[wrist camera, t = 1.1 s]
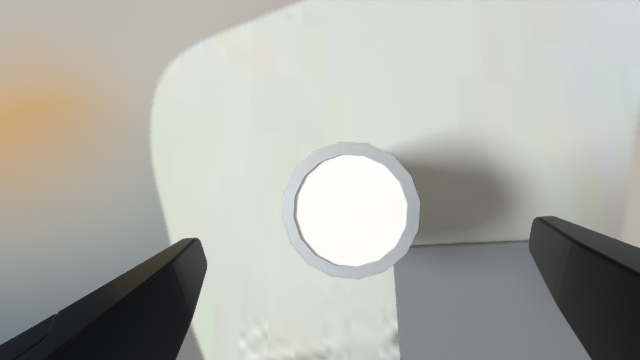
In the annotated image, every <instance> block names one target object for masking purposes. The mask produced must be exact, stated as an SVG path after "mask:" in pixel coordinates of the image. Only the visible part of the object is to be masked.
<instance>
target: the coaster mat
mask: <svg viewBox="0 0 640 360" xmlns="http://www.w3.org/2000/svg"><path fill="white" fill-rule="evenodd" d="M394 276H395V290H396V304H397V318H398V333H399V347H400V360H591V358H590V357H589V355H588V353H587V352H586V350H585V349H584V347H583V346H582V344H581V343H580V341H579V339H578V338H577V336H576V335H575V333H574V332H573V330H572V329H571V327H570V325H569V324H568V322H567V321H566V319H565V318H564V316H563V315H562V313H561V311H560V310H559V308H558V306H557V305H556V303H555V301H554V299H553V297H552V296H551V294H550V292H549V290H548V288H547V286H546V284H545V282H544V280H543V278H542V276H541V274H540V272H539V270H538V268H537V266H536V264H535V262H534V260H533V258H532V256H531V253H530V251H529V240H528V241H507V242H485V243H464V244H442V245H421V246H410V247H409V249H408V251H407V253H406V254H405V255H404V256H403V257H402V258H400V259H399V260H398V261H397V262H396V263H394Z"/></svg>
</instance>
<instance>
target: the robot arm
mask: <svg viewBox="0 0 640 360" xmlns="http://www.w3.org/2000/svg"><path fill="white" fill-rule="evenodd" d="M529 251H530V253H531V256H532V258H533V260H534V262H535V264H536V266H537V268H538V270H539V272H540V274H541V276H542V278H543V280H544V282H545V284H546V286H547V288H548V290H549V292H550V294H551V296H552V297H553V299H554V301H555V303H556V305H557V306H558V308H559V310H560V311H561V313H562V315H563V316H564V318H565V319H566V321H567V322H568V324H569V325H570V327H571V329H572V330H573V332H574V333H575V335H576V336H577V338H578V339H579V341H580V343H581V344H582V346H583V347H584V349H585V350H586V352H587V353H588V355H589V357H590V358H591V360H640V248H638V247H635V246H632V245H630V244H627V243H624V242H622V241H619V240H616V239H614V238H611V237H608V236H606V235H603V234H600V233H598V232H595V231H592V230H589V229H587V228H584V227H581V226H579V225H576V224H573V223H571V222H568V221H565V220H563V219H560V218H557V217H554V216H543V217H536V218H535V219H534V220H533V223H532V228H531V233H530V239H529ZM206 270H207V260H206V257H205V254H204V251H203V247H202V244H201V242H200V240H199V239H198V238H185V239H182V240H180V241H179V242H177V243H175V244H173V245H172V246H170V247H168V248H167V249H165V250H163V251H162V252H160V253H158V254H156V255H155V256H153V257H151V258H150V259H148V260H146V261H145V262H143V263H141V264H139V265H138V266H136V267H134V268H133V269H131V270H129V271H127V272H126V273H124V274H122V275H120V276H119V277H117V278H115V279H114V280H112V281H110V282H109V283H107V284H105V285H103V286H102V287H100V288H98V289H97V290H95V291H93V292H91V293H90V294H88V295H86V296H85V297H83V298H81V299H80V300H78V301H76V302H74V303H73V304H71V305H69V306H68V307H66V308H64V309H63V310H61V311H59V312H58V314H54V315H52V316H50V317H49V318H47V319H45V320H44V321H42V322H40V323H39V324H37V325H35V326H33V327H31V328H30V329H28V330H26V331H25V332H23V333H21V334H19V335H17V336H16V337H14V338H12V339H10V340H8V341H7V342H5V343H3V344H1V345H0V360H176V357H177V355H178V353H179V350H180V348H181V345H182V343H183V340H184V338H185V335H186V333H187V331H188V328H189V326H190V323H191V321H192V318H193V315H194V312H195V309H196V305H197V302H198V298H199V295H200V291H201V288H202V284H203V281H204V277H205V274H206Z"/></svg>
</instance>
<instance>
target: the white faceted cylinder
mask: <svg viewBox="0 0 640 360" xmlns="http://www.w3.org/2000/svg"><path fill="white" fill-rule="evenodd" d="M419 214H420V200H419V197H418V194H417V191H416V188H415V185H414V182H413V179H412V177H411V175H410V174H409V173H408V172H407V171H406V169H405V168H404V167H403V166H402V165H401V164H400V163H399V162H398V161H397V159H396V158H395V157H394V156H393V155H391V154H389V153H387V152H385V151H383V150H381V149H379V148H377V147H374V146H372V145H370V144H368V143H354V142H338V143H335V144H332V145H330V146H327V147H324V148H321V149H318V150H316V151H314V152H313V153H312V154H311V155H309V156H308V157H307V158H306V159H305V160H304V161H303V162H302V163H301V164H300V165H298V166H297V167H296V168H295V169H294V171H293V174H292V176H291V178H290V180H289V182H288V184H287V186H286V188H285V190H284V193H283V210H282V221H283V223H284V226H285V229H286V232H287V235H288V238H289V241H290V244H291V245H292V246H293V248H294V249H295V250H296V251H297V252H298V253H299V254H300V256H301V257H302V258H303V259H304V260H305V261H306V263H307V264H308V265H310V266H312V267H314V268H316V269H318V270H320V271H322V272H324V273H326V274H328V275H329V276H331V277H340V278H350V279H362V278H365V277H368V276H371V275H375V274H378V273H381V272H385V271H386V270H387V269H388V268H390V267H391V266H392V265H393V264H394V263H396V262H397V261H398V260H399V259H400V258H402V257H403V256H404V255H405V254H406V253H407V251H408V249H409V247H410V245H411V243H412V241H413V239H414V237H415V235H416V233H417V231H418V228H419Z"/></svg>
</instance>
